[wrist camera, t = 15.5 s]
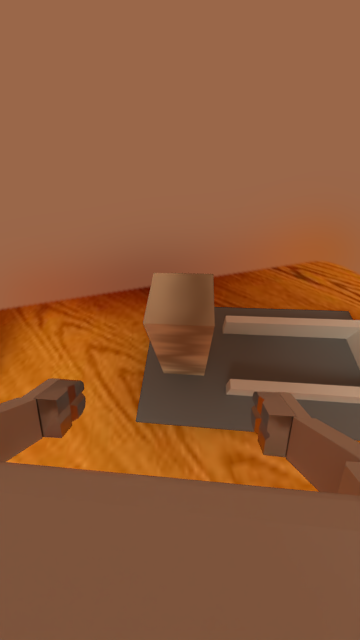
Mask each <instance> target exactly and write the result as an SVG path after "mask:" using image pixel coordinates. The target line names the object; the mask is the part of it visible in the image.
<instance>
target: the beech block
mask: <svg viewBox="0 0 360 640" xmlns="http://www.w3.org/2000/svg"><path fill="white" fill-rule="evenodd" d="M143 325H144V327H145V329H146V332H147V334H148V337H149V339H150V341H151V344H152V346H153V349H154V351H155V353H156V356H157V358H158V360H159V363H160V365H161V368H162V370H163V372H164V373H168V374H185V375H201V376H204V374H205V369H206V364H207V360H208V355H209V351H210V346H211V341H212V337H213V332H214V327H215V318H214V282H213V274H183V273H154V274H153V279H152V284H151V288H150V293H149V297H148V302H147V307H146V311H145V316H144V321H143Z"/></svg>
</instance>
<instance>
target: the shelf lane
mask: <svg viewBox="0 0 360 640" xmlns="http://www.w3.org/2000/svg"><path fill="white" fill-rule="evenodd" d="M214 318H215V327H214V332H213V337H212V341H211V346H210V351H209V355H208V360H207V364H206V369H205V374H204V376H201V375H185V374H168V373H164V372H163V370H162V368H161V365H160V363H159V360H158V358H157V356H156V353H155V351H154V349H153V346H152V344H151V341H150V344H149V350H148V355H147V361H146V367H145V372H144V378H143V384H142V389H141V395H140V400H139V406H138V412H137V417H136V422H144V423H156V424H168V425H180V426H192V427H203V428H215V429H227V430H239V431H251V432H254V429H253V427H252V423H251V408H252V407H253V406H254V405H255V404H254V402H253V400H252V398H253V393H254V392H288V393H290V394H292V395H293V397H294V398H295V399H296V400H297V401H298V403H299V404H300V405H301V406H302V407H303V408H304V410H305V411H306V412H307V413H308V414H309V416H310V417H311V418H316V419H318V420H319V421H321V422H323V423H325V424H327V425H328V426H330V427H332V428H334V429H335V430H337V431H339V432H341V433H343V434H344V435H346V436H348V437H350V438H351V439H353V440H357V441H360V320H352V318H351V315H350V313H349V311H323V310H291V309H259V308H228V307H214Z"/></svg>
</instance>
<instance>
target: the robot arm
mask: <svg viewBox="0 0 360 640" xmlns="http://www.w3.org/2000/svg"><path fill="white" fill-rule="evenodd" d="M83 390H84V384H83V382H82V381H79V380H67V379H48V380H47V381H45V382H44V383H42V384H41V385H39V386H38V387H36V388H35V389H33V390H32V391H30V392H29V393H28V394H26V395H25V396H23V397H22V398H16V399H13V400H10V401H7V402H4V403H1V404H0V640H360V443H359V442H357V441H355V440H353V439H351V438H350V437H348V436H346V435H344V434H343V433H341V432H339V431H337V430H335V429H334V428H332V427H330V426H328V425H327V424H325V423H323V422H321V421H319V420H318V419H316V418H311V417H310V416H309V414H308V413H307V412H306V411H305V410H304V408H303V407H302V406H301V405H300V404H299V403H298V401H297V400H296V399H295V398H294V397H293V395H292V394H290V393H288V392H254V393H253V398H252V400H253V402H254V404H255V405H254V406H253V407H252V408H251V423H252V427H253V429H254V432H256V433H257V434H258V442H259V445H260V447H261V450H262V452H263V455H270V456H279V457H286V459H287V460H288V461H289V462H290V463H291V464H292V465H293V466H294V467H295V468H296V469H297V470H298V471H299V472H300V473H301V474H302V475H303V476H304V477H305V478H306V479H307V480H308V481H309V482H310V483H311V484H312V485H313V486H314V487H315V488H316V489H317V490H318V491H319V492H315V491H304V490H293V489H282V488H271V487H260V486H250V485H240V484H229V483H219V482H209V481H199V480H188V479H178V478H168V477H157V476H146V475H136V474H125V473H114V472H104V471H93V470H82V469H72V468H61V467H51V466H40V465H29V464H19V463H8V462H6V461H8V460H9V459H11V458H12V457H14V456H15V455H17V454H18V453H20V452H21V451H23V450H25V449H26V448H28V447H29V446H31V445H32V444H34V443H35V442H37V441H38V440H40V439H42V437H55V438H62V437H63V436H64V435H65V434H66V432H67V431H68V430H69V429H70V428H71V426H72V421H74V420H76V419H78V418H79V417H80V415H81V414H82V413H83V410H84V408H85V396H84V395H83V394H82V391H83Z"/></svg>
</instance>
